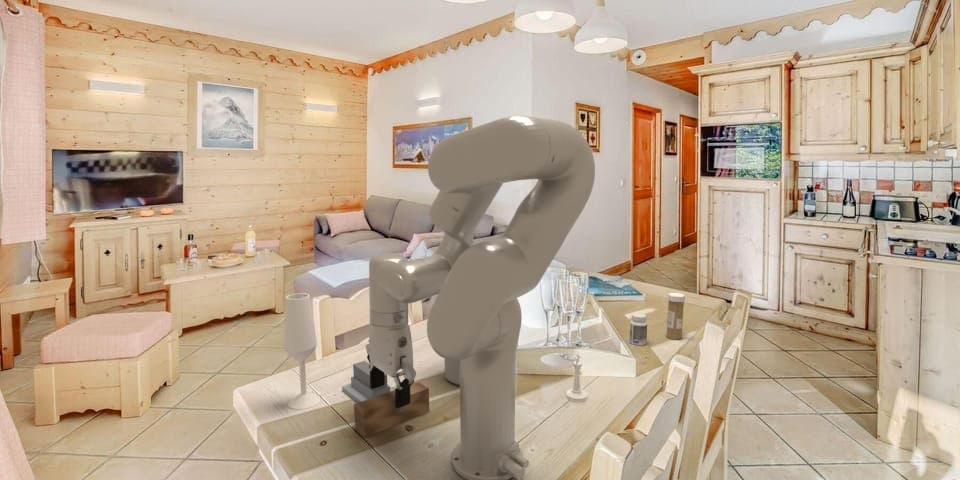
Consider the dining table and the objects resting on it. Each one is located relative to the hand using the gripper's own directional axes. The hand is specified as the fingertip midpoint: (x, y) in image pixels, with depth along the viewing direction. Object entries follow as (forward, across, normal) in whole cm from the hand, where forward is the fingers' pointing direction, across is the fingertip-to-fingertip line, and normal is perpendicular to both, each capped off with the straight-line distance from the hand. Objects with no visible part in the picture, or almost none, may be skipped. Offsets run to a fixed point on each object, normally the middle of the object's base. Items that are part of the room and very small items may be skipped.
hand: (389, 395), depth 98 cm
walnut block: (+5, -1, 0) cm, 5 cm away
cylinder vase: (+5, +4, -25) cm, 26 cm away
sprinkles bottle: (+4, -17, -88) cm, 90 cm away
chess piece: (+4, -20, -36) cm, 42 cm away
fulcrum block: (+5, +12, -2) cm, 13 cm away
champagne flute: (+6, +19, +10) cm, 22 cm away
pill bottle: (+4, -12, -76) cm, 77 cm away
